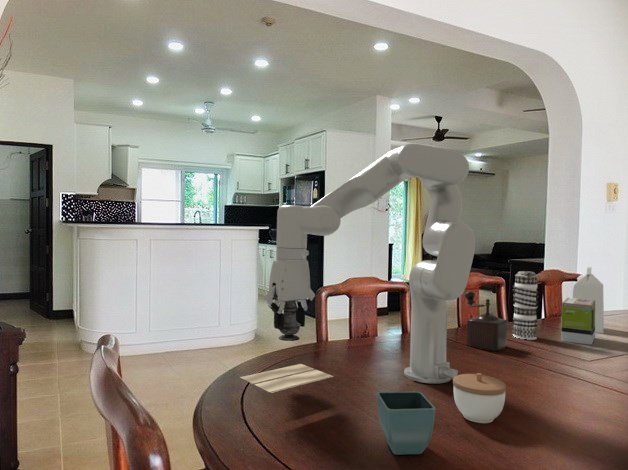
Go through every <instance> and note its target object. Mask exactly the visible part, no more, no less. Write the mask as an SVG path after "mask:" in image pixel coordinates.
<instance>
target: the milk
mask: <svg viewBox="0 0 628 470" xmlns="http://www.w3.org/2000/svg"><path fill="white" fill-rule="evenodd" d="M576 280H577V281H575V282H574V284H573V289H572V298H578V299H589V300H595V334H604V330H605V327H604V325H605V321H604V320H605V318H604V315H605V312H604V305H605V304H604V303H605V302H604V284H603V283H602V282H601V281H600V280H599V279H598V278H597V277H596V276H595V275H594V274H593V273H592V266H587V267H586V274H584V275H583V274H580V275H579V276H578V277H577V278H576Z"/></svg>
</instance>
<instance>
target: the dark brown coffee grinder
mask: <svg viewBox="0 0 628 470" xmlns="http://www.w3.org/2000/svg"><path fill="white" fill-rule="evenodd" d="M463 296H464V299H466V301H467V303H466V304H467V305H468V306H469V307H470V308H483V307H486V308H485V309H486V312H485V313H482V314H479V315H477V316H474V317H472V318H469V319H467V330H466V331H467V335H466V336H467V340H466V345H468V346H467V347H470V346H472V347H471V348H474V347H477V348H476V349H479V348H482V349H481V350H484V349H487V350H486V351H490V350H492V351H491V352H498V350H499V351H501V350H503V349H505V348H507V338H508V337H507V336H508V319H504V318H500V317H497V316H496V315H494V314H493V312H490V305H491V304H490V302H491V300H490V299H489V298H487V299H485V303H484V304H483V303H482V304H480V303H479V304H475V303H476V302H475V300H474V299H475V297H476V293H475V292H474V291H467V292H465V293H464V295H463Z"/></svg>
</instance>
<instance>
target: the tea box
mask: <svg viewBox="0 0 628 470" xmlns="http://www.w3.org/2000/svg"><path fill="white" fill-rule="evenodd" d="M560 332H561V333H560V335H561V338H560V340H561V342H565V343H566V342H568V343H575V344H580V345H581V344H582V345H588V346H589V345H590V346H591V345H592V344H593V342H594V340H595V338H596V333H595V300H589V299H578V298H573V297H566V299H565V300H564V301H562V303H561V331H560Z"/></svg>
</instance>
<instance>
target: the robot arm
mask: <svg viewBox="0 0 628 470" xmlns="http://www.w3.org/2000/svg"><path fill="white" fill-rule="evenodd" d="M469 172H470V164H469V162H468V159H467V158H466V156H464V154H462V153H461V152H459V151H456V150H452V149H448V148H441V147H436V146H432V145H425V144H419V143H406V144H403V145H401V146H399V147H395V148H392V149H391V150H389V151H388V152H386V153H385V154H384V155H382V156H380V157H379V158H378V159H376V160H375V161H374V162H372V163H370V164H369V165H368V166H367V167H365V168H364V169H362V170H361V171H360V172H358V173H356V174H355V175H354V176H352V177H351V178H350V179H348V180H347V181H345V182H344V183H342V184H341V185H340V186H338V187H337V188H335V189H334V190H332V191H331V192H329V193H328V194H326V195H324V197H322V198H320V199H319V200H318V201H317V202H315V203H313V204H312V205H311V206H303V205H297V204H296V205H295V204H294V205H293V204H292V205H291V204H290V205H289V204H288V205H287V204H286V205H280V206H279V207H278V209H277V212H276V213H277V216H276V220H277V221H276V251H275V252H276V253H275V255H276V256H275V257H276V258H275V259H276V260H275V259H274V260H272V264H271V269H270V274H269V284H268V292H267V293H266V295H265V296H264V297H263V301H264V302H265V303H266V304H267V306H268V308H269V309H271V312H272V313H273V327H274V329H277V330H279V331H280V330H283V329H284V310H283V308H284V305H285V302H288V301H296V307H297V308H296V309H297V310H296V321H297V322H298V323H300V324H301V326H300V328H301V327H305V326H306V325H305V324H306V311H308V307H309V306H310V304H311V302H312V301H313V300H314V298H315V297H316V294H315V292H314V291H313V290H312V288H311V276H310V274H311V273H310V272H311V271H310V267H309V266H310V265H309V260H307V256H309V255H310V251H309V250H307V247H308V246H307V245H308V234H309V235H313V236H314V235H315V236H321V237H322V236H323V237H325V236H330V235H333V234H334V233H336V232H337V231H338V229H339V228H340V225H341V219H343V217H346V216H347V215H349V214H350V213H352V212H355V211H357V210H360V209H362V208H365V207H368V206H369V205H372V204H374V203H375V202H377V201H378V200H379V199H381V198H382V197H383V196H385V195H386V194H387V193H388V192H390V191H392V190H393V189H394V188H395V187H397V186H398V185H399V184H401V183H402V182H404V181H405V180H407V179H411V178H416V179H417V178H418V179H419V181H420V182H421V183H422V185H423V186H424V187H425V189H426V191H427V193H428V195H429V199H430V201H429V203H430V204H429V211H428V216H427V220H426V223H425V228H424V230H423V231H424V232H423V237H422V248H423V249H424V250H425V251H424V252H426V253H427V254H429V255H432V256H433V257H437V259H436V260H430V259H427V260H421V261H418V262H417V263H416V264H414V265H413V267H412V268H411V270H410V273H409V276H408V277H409V278H408V279H409V280H408V285H409V290H410V301H411V305H410V307H411V312H410V313H411V318H410V348H409V349H410V351H409V353H410V354H409V366H407V367H405V368H404V371H403V376H405V377H406V378H407V379H411V380H413V381H415V382H417V383H423V384H433V385H434V384H445V383H449V382H450V381H452V380H453V378H454V377H455V376H457V375H459V371H458V369H454V368H451V363H450V361H447V336H448V334H447V333H448V305H447V301H448V302H449V301H455V300H456V299H458V298H460V296H462V295H463V293H464V292H465V290H466V288H467V284H468V281H469V277H470V272H471V268H472V264H473V259H474V257H475V251H476V237H475V233H474V231H473V230H472V227H470V226H469V225H468V224H466V223H464V222H461V218H462V216H461V215H462V212H463V197H462V194H461V191H460V189H459V186H457V184H461V182H463V181H464V180H465V179H466V178H467V176H468V174H469Z"/></svg>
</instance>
